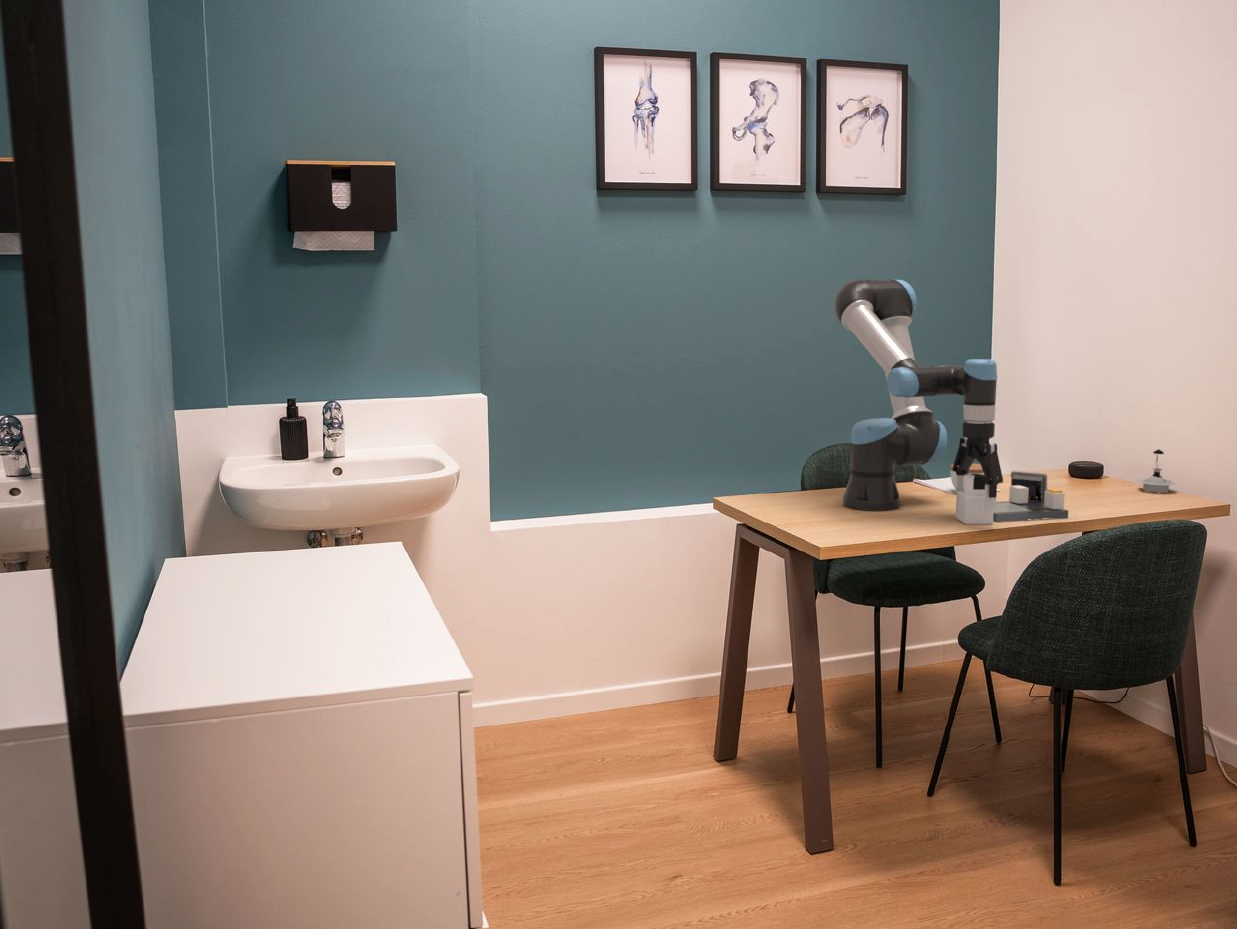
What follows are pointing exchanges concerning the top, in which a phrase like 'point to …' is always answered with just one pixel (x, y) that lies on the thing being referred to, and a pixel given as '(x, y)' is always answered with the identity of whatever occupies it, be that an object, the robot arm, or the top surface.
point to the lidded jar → (972, 470)
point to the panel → (1025, 511)
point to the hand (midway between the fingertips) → (975, 505)
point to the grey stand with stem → (1156, 480)
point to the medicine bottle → (973, 501)
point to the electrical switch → (1031, 483)
